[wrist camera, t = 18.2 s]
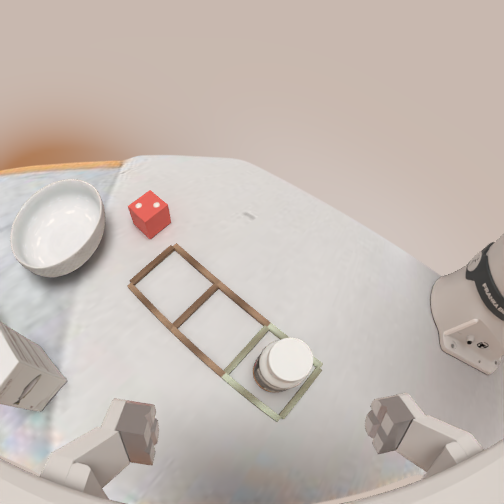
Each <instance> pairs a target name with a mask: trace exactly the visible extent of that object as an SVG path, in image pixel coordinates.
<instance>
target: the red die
mask: <svg viewBox="0 0 504 504" xmlns="http://www.w3.org/2000/svg"><path fill="white" fill-rule="evenodd" d="M128 208H129V211H130V214H131V217H132V220H133V223H134V225H135V226H137V227H138V228H139V229H140V230H141V231H142V232H143V233H144V234H145V235H146V236H147V237H148V238H149V239H151V238H153V237H154V236H155V235H156V234H157V233H159V232H160V231H161V230H162V229H164V228H165V227H166V226H167V225H169V224H170V223H171V220H170V214H169V208H168V205H167V204H166V203H165V202H164V201H163V200H161V199H160V198H159V197H158V196H157V195H155V194H154V193H153V192H152V191H151V190H150V191H148V192H147V193H145V194H144V195H143V196H141V197H140V198H139V199H137V200H136V201H134V202H133V203H132V204H130V205H129V206H128Z"/></svg>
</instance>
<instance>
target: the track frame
mask: <svg viewBox="0 0 504 504" xmlns="http://www.w3.org/2000/svg"><path fill="white" fill-rule="evenodd" d="M174 250H175V251H176V252H177V253H179V254H180V255H181V256H182V257H183V258H184V259H185V260H186V261H188V262H189V263H190V264H191V265H192V266H193V267H194V268H196V269H197V270H198V271H199V272H200V273H201V274H202V275H204V276H205V277H206V278H207V279H208V280H209V281H211V282H212V283H213V285H212V286H211V287H210V288H209V289H208V290H207V291H206V292H205V293H204V294H203V295H202V296H201V297H200V298H199V299H198V300H196V301H195V302H194V303H193V304H192V305H191V306H190V307H189V308H188V309H187V310H186V311H185V312H184V313H183V314H182V315H181V316H180V317H179V318H178V319H177V320H176V321H175V322H174V323H173V324H172V323H171V322H170V321H169V320H168V319H167V318H166V317H165V316H163V315H162V314H161V313H160V312H159V311H158V310H157V309H156V308H155V307H154V306H153V304H152V303H151V302H150V301H149V300H148V299H147V298H146V297H145V296H144V295H143V294H142V293H141V292H140V291H139V290H138V289H137V288H136V287H135V286H134V285H135V284H137V283H138V282H139V281H140V280H141V279H142V278H143V277H144V276H146V275H147V274H148V273H149V272H150V271H151V270H152V269H154V268H155V267H156V266H157V265H158V264H159V263H160V262H162V261H163V260H164V259H165V258H166V257H167V256H169V255H170V254H171V253H172V252H173V251H174ZM130 282H131V283H130V284H129V285H128V288H129V289H130V290H131V291H132V292H133V293H134V294H135V295H136V296H137V298H138V299H139V300H140V301H141V302H142V303H143V304H144V305H145V306H146V307H147V308H148V309H149V310H150V311H151V312H152V313H153V314H154V315H155V316H156V317H157V318H158V319H159V320H160V321H161V322H162V323H163V324H164V325H165V326H166V327H167V328H168V329H169V330H170V331H171V332H172V333H173V334H174V335H175V336H176V337H177V338H178V339H179V340H180V341H181V342H182V343H183V344H185V345H186V346H187V347H188V348H189V349H190V350H191V351H192V352H193V353H194V354H195V355H196V356H198V357H199V358H200V359H201V360H202V361H203V362H204V363H205V364H206V365H208V366H209V367H210V368H211V369H212V370H213V371H214V372H216V373H217V374H218V375H219V376H220V377H221V378H222V379H224V380H225V381H226V382H227V383H228V384H230V385H231V386H232V387H233V388H234V389H236V390H237V391H238V392H239V393H240V394H242V395H243V396H244V397H245V398H247V399H248V400H249V401H250V402H252V403H253V404H254V405H255V406H257V407H258V408H259V409H261V410H262V411H263V412H264V413H266V414H267V415H268V416H270V417H271V418H272V419H274V420H275V421H276V422H278V421H279V419H280V418H282V419H284V418H285V417H286V416H287V414H288V413H289V412H290V411H291V410H292V408H293V407H294V406H295V405H296V403H297V402H298V401H299V400H300V398H301V397H302V396H303V395H304V393H305V392H306V391H307V389H308V388H309V387H310V385H311V384H312V383H313V382H314V380H315V379H316V378H317V376H318V375H319V374H320V372H321V371H322V370H321V369H320V367H321V366H322V365H323V363H321V362H320V361H319V360H317V359H316V358H315V357H314V356H313V365H314V366H315V367H316V368H315V370H314V371H313V372H312V374H311V375H310V376H309V378H308V379H307V380H306V381H305V383H304V384H303V385H302V387H301V388H300V389H299V390H298V392H297V393H296V394H295V395H294V397H293V398H292V399H291V400H290V402H289V403H288V404H287V405H286V406H285V408H284V409H283V410H282V411H281V412H280V414H279V415H278V414H277V413H275V412H274V411H273V410H271V409H270V408H269V407H267V406H266V405H265V404H264V403H262V402H261V401H260V400H258V399H257V398H256V397H255V396H253V395H252V394H251V393H250V392H248V391H247V390H246V389H245V388H244V387H242V386H241V385H240V384H239V383H237V382H236V381H235V380H234V379H233V378H231V377H230V376H229V374H230V373H231V372H232V370H233V369H234V368H235V367H236V366H237V365H238V364H239V363H240V362H241V361H242V360H243V358H244V357H245V356H246V355H247V354H248V353H249V352H250V351H251V350H252V348H253V347H254V346H255V345H256V344H257V343H258V342H259V341H260V339H261V338H262V337H263V336H264V335H265V334H266V333H267V331H268V330H269V331H271V332H272V333H273V334H274V335H276V336H277V337H278V338H279V339H284V338H289V337H288V336H287V335H286V334H284V333H283V332H282V331H280V330H279V329H278V328H277V327H275V326H274V325H273V324H272V323H271V322H269V321H268V320H267V319H266V318H264V317H263V316H262V315H261V314H259V313H258V312H257V311H256V310H255V309H253V308H252V307H251V306H250V305H248V304H247V303H246V302H245V301H244V300H242V299H241V298H240V297H239V296H238V295H236V294H235V293H234V292H233V291H232V290H230V289H229V288H228V287H227V286H226V285H224V284H223V283H222V282H221V281H220V280H218V279H217V278H216V277H215V276H214V275H213V274H211V273H210V272H209V271H208V270H207V269H206V268H204V267H203V266H202V265H201V264H200V263H199V262H197V261H196V260H195V259H194V258H193V257H192V256H190V255H189V254H188V253H187V252H186V251H185V250H184V249H182V248H181V247H180V246H179V245H178V244H177V243H176V244H175V245H174V246H172V245H170V246H169V247H168V248H167V249H166V250H164V251H163V252H162V253H161V254H160V255H159V256H157V257H156V258H155V259H154V260H153V261H152V262H150V263H149V264H148V265H147V266H146V267H145V268H143V269H142V270H141V271H140V272H139V273H138V274H137V275H135V276H134V277H133V278H132V279H131V280H130ZM218 289H220V290H221V291H222V292H223V293H225V294H226V295H227V296H228V297H229V298H231V299H232V300H233V301H234V302H235V303H236V304H238V305H239V306H240V307H241V308H242V309H244V310H245V311H246V312H247V313H249V314H250V315H251V316H252V317H253V318H255V319H256V320H257V321H258V322H259V323H261V324H262V325H263V326H264V327H263V328H262V329H261V330H260V331H259V332H258V333H257V335H256V336H255V337H254V338H253V339H252V340H251V341H250V342H249V343H248V345H247V346H246V347H245V348H244V349H243V350H242V351H241V352H240V353H239V354H238V355H237V357H236V358H235V359H234V360H233V361H232V362H231V363H230V364H229V365H228V366H227V367H226V368H225V369H224V371H223V370H222V369H221V368H220V367H219V366H217V365H216V364H215V363H214V362H213V361H212V360H211V359H209V358H208V357H207V356H206V355H205V354H204V353H203V352H202V351H201V350H199V349H198V348H197V347H196V346H195V345H194V344H193V343H192V342H191V341H190V340H189V339H187V338H186V337H185V336H184V335H183V334H182V333H181V332H180V331H179V330H178V328H179V327H180V326H181V325H182V324H183V323H184V322H185V321H186V320H187V319H188V318H189V317H190V316H191V315H192V314H193V313H194V312H195V311H196V310H197V309H198V308H199V307H200V306H201V305H202V304H203V303H204V302H205V301H206V300H207V299H208V298H209V297H210V296H211V295H212V294H213V293H214V292H215V291H217V290H218Z"/></svg>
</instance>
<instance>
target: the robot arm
mask: <svg viewBox="0 0 504 504" xmlns="http://www.w3.org/2000/svg"><path fill="white" fill-rule="evenodd" d="M431 309H432V314H433V317H434V320H435V323H436V325H437V328H438V331H439V337H440V345H441V348H442V350H443V351H445V352H446V353H448V354H450V355H452V356H454V357H456V358H458V359H459V360H461V361H463V362H465V363H467V364H469V365H471V366H472V367H474V368H476V369H478V370H480V371H482V372H484V373H485V374H488V375H490V374H492V373H493V372H494V371H495V370H496V369H497V367H498V365H499V364H500V361H501V359H502V356H503V355H504V234H503V235H502V236H501V237H500V238H499V239H498V240H497V241H496V242H492V243H490V244H489V245H488V246H487V247H485V248H484V249H483V250H482V251H481V252H479V253H478V254H477V255H476V256H475V257H474V258H473V259H472V260H471V261H470V262H469V263H468V264H467V265H466V266H464V267H463V268H461V269H459V270H457V271H455V272H454V273H451V274H448V275H445V276H442V277H440V278H439V279H438V280H437V281H436V282H435V284H434V286H433V289H432V293H431ZM451 347H452V348H451ZM370 407H371V409H372V410H371V411H370V412H369V413H368V414H367V416H366V419H365V429H366V432H367V434H368V436H370V437H372V438H373V442H372V444H373V446H374V448H375V450H376V452H377V454H382V453H386V452H390V451H394V450H396V451H397V452H398V453H399V454H401V455H402V456H404V457H405V458H407V459H408V460H410V461H411V462H413V463H414V464H416V465H417V466H419V467H420V468H422V469H423V470H425V471H426V472H427V473H426V474H425V475H424V476H423V478H422V479H421V480H420V481H417V482H414V483H412V484H409V485H406V486H403V487H400V488H397V489H394V490H391V491H388V492H385V493H381V494H378V495H375V496H370V497H367V498H363V499H359V500H355V501H351V502H346V503H341V504H504V439H502V440H501V441H499V442H497V443H496V444H494V445H492V446H491V447H489V448H487V449H485V450H484V449H483V447H482V446H481V445H480V444H479V442H478V441H477V440H476V439H475V438H474V436H473V435H472V434H471V433H469V432H467V431H464V430H462V429H460V428H457V427H455V426H452V425H450V424H448V423H445V422H443V421H441V420H438V419H436V418H434V417H432V416H429V415H428V416H426V415H425V414H424V413H423V412H422V410H421V409H420V408H419V406H418V405H417V404H416V402H415V401H414V400H413V399H412V397H411V396H410V395H409V394H408V393H402V394H398V395H393V396H388V397H383V398H378V399H374V400H373V401H372V403H371V406H370ZM155 414H156V409H155V405H153V404H147V403H140V402H134V401H127V400H121V399H116V398H115V399H114V400H112V402H111V404H110V407H109V409H108V411H107V414H106V416H105V418H104V420H103V423H102V425H101V427H96V428H94V429H92V430H91V431H89V432H87V433H86V434H84V435H82V436H80V437H79V438H77V439H75V440H73V441H72V442H70V443H68V444H66V445H65V446H63V447H61V448H59V449H57V450H56V451H54V452H52V453H51V454H50V456H49V458H48V460H47V462H46V464H45V466H44V468H43V470H42V472H41V475H40V477H39V476H37V475H34V474H32V473H30V472H27V471H25V470H23V469H21V468H19V467H17V466H15V465H12V464H11V463H9V462H7V461H5V460H3V459H1V458H0V504H126V503H121V502H117V501H112V500H109V499H108V497H107V496H106V494H105V492H104V491H103V489H102V488H103V487H104V486H105V485H106V484H107V483H109V482H110V481H111V480H112V479H113V478H114V477H115V476H117V475H118V474H119V473H120V472H121V471H122V470H123V469H124V468H126V467H127V466H128V465H129V464H130V462H132V463H139V464H147V465H153V461H154V457H155V448H154V445H155V444H157V442H158V436H159V425H158V420H157V419H156V418H155Z"/></svg>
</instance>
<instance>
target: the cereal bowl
mask: <svg viewBox="0 0 504 504" xmlns="http://www.w3.org/2000/svg"><path fill="white" fill-rule="evenodd" d="M104 228H105V212H104V206H103V203H102V199H101V197H100V195H99V193H98V191H97V190H96V188H95V187H93V186H92V185H91V184H89V183H87V182H85V181H82V180H77V179H67V180H61V181H57V182H54V183H52V184H50V185H47V186H45V187H44V188H42V189H40V190H39V191H38V192H36V193H35V194H34V195H32V196H31V197H30V198H29V199H28V200H27V201H26V203H25V204H24V205H23V206H22V208H21V209H20V211H19V212H18V214H17V216H16V218H15V220H14V223H13V226H12V230H11V238H10V241H11V248H12V251H13V254H14V256H15V257H16V259H17V260H18V261H19V263H21V264H22V266H24V267H25V268H26V269H27V270H29V271H31V272H32V273H35V274H36V275H39V276H43V277H58V276H62V275H66V274H68V273H71V272H73V271H74V270H76V269H78V268H79V267H81V266H82V265H83V264H84V263H85V262H86V261H87V260H88V259H89V258H90V257H91V256H92V254H93V253H94V252H95V250H96V249H97V247H98V245H99V243H100V241H101V239H102V236H103V232H104Z"/></svg>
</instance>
